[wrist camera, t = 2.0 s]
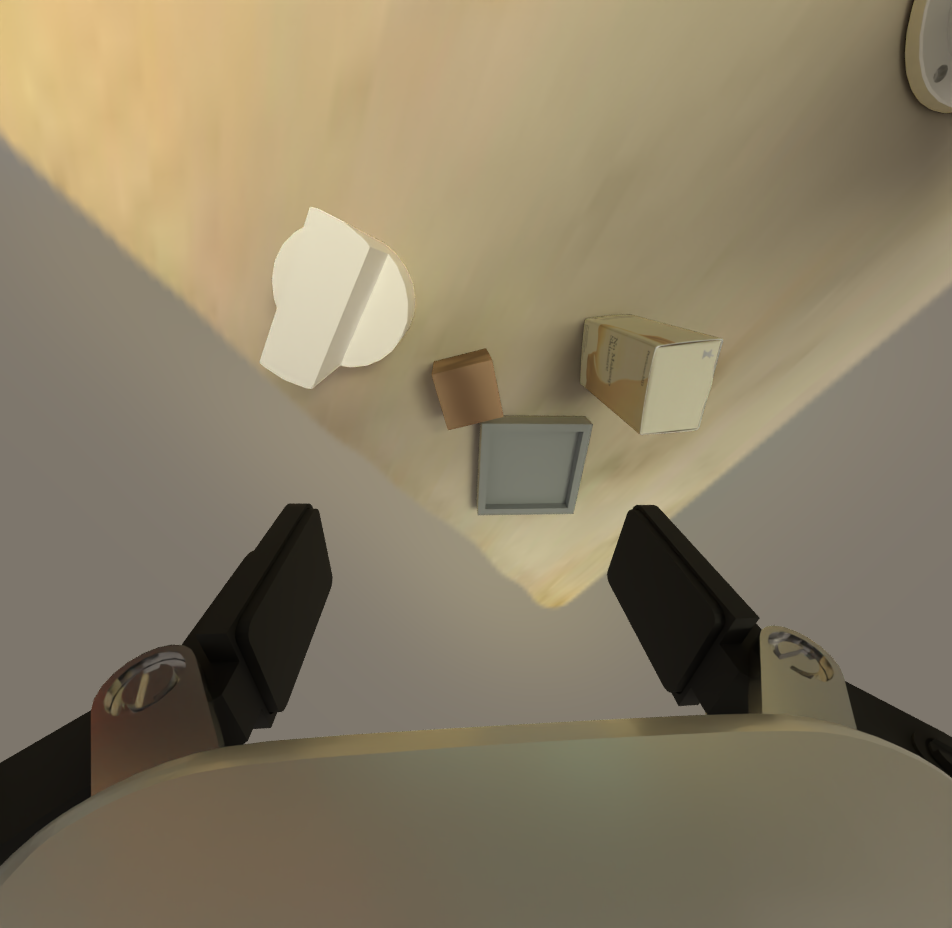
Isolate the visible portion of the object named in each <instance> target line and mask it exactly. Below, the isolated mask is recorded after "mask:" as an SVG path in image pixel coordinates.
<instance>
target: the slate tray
mask: <svg viewBox="0 0 952 928" xmlns="http://www.w3.org/2000/svg"><path fill="white" fill-rule="evenodd" d="M592 426H593V424H592V423H591V422H590V421H589V420H588V419H587V418H586V417H585V416H503V417H501V418H497V419H493V420H488V421H484V422H480V432H479V455H478V477H477V499H476V505H477V513H478V515H525V514H573V513H574V508H575V504H576V499H577V495H578V490H579V486H580V481H581V477H582V472H583V467H584V463H585V458H586V454H587V449H588V445H589V440H590V435H591V431H592Z"/></svg>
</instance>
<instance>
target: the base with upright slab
mask: <svg viewBox="0 0 952 928" xmlns="http://www.w3.org/2000/svg"><path fill="white" fill-rule="evenodd" d="M272 286H273V295H274V301H275V303H276V306H277V310H276V313H275V316H274V319H273V322H272V325H271V328H270V331H269V334H268V337H267V340H266V343H265V346H264V349H263V352H262V356H261V359H260V363H261V364H262V365H263V366H264V367H265V368H266V369H268V370H269V371H271V372H273V373H274V374H276V375H277V376H279V377H280V378H282V379H284V380H285V381H288V382H291V383H293V384H296V385H299V386H301V387H304V388H309V389H313V388H314V387H315V386H316V385H317V384H319V383H320V382H321V381H322V380H323V379H325V378H326V377H327V376H328V375H330V374H331V373H332V372H333V371H334V370H336V369H337V368H338V367H339V366H345V367H359V366H367V365H370V364H372V363H375V362H377V361H379V360H381V359H383V358H384V357H385V356H386V355H388V354H389V353H390V352H391V351H393V349H394V348H395V347H396V345H397V344H398V343H399V342H400V340H401V339H402V338H403V336H404V335H405V333H406V332H407V330H408V329H409V327H410V325H411V322H412V319H413V316H414V313H415V299H416V298H415V292H414V286H413V282H412V280H411V277H410V275H409V272H408V270H407V268H406V266H405V265H404V263H403V262H402V261H401V259H400V258H399V256H398V255H397V254H396V253H395V252H394V251H393V250H392V249H391V248H389V247H388V246H387V245H386V244H385V243H383V242H381V241H380V240H378V239H376V238H374V237H372V236H370V235H368V234H366V233H364V232H363V231H361V230H359V229H357V228H355V227H353V226H351V225H349V224H348V223H346V222H344V221H342V220H340V219H338V218H336V217H334V216H332V215H330V214H328V213H326V212H324V211H322V210H320V209H318V208H314V207H310V208H309V212H308V215H307V218H306V221H305V224H304V227H303V228H301V229H299V230H297V231H295V232H294V233H293V234H292V235H291V236H290V237H289V238H288V239H287V240H286V241H285V242H284V243H283V245H282V247H281V249H280V251H279V253H278V255H277V257H276V259H275V262H274V269H273V275H272Z"/></svg>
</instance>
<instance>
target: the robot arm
mask: <svg viewBox="0 0 952 928" xmlns="http://www.w3.org/2000/svg"><path fill="white" fill-rule="evenodd" d="M905 63H906V74H907V77H908V81H909V84H910V87H911V90H912V92H913V93H914V95H915V96H916V98H917V99H918V100H919V102H920V103H922V104H923V105H924V106H926V107H927V108H929V109H930V110H934V111H937V112H941V113H952V0H914V3H913V6H912V11H911V15H910V20H909V24H908V28H907V35H906V46H905ZM607 576H608V581H609V584H610V586H611V588H612V590H613V592H614V593H615V595H616V597H617V599H618V601H619V603H620V605H621V607H622V608H623V611H624V612H625V614H626V616H627V618H628V620H629V622H630V624H631V625H632V628H633V629H634V631H635V633H636V635H637V637H638V639H639V641H640V642H641V645H642V647H643V648H644V650H645V652H646V654H647V656H648V658H649V660H650V662H651V663H652V666H653V667H654V669H655V671H656V673H657V675H658V677H659V679H660V681H661V683H662V684H663V686H664V688H665V689H666V690H667V691H669V692H671V693H672V695H673V696H674V698H675V700H676V702H677V704H678V706H686V705H698V704H699V703H700V704H701V705H702V707H703V709H704V710H705V712H706V713H705V715H693V716H692V715H689V716H670V717H650V718H630V719H612V720H593V721H592V720H591V721H573V722H555V723H537V724H519V725H504V726H485V727H467V728H450V729H434V730H418V731H402V732H388V733H370V734H354V735H340V736H328V737H315V738H303V739H290V740H279V741H266V742H259V743H252V744H244V743H245V742H247V741H248V739H249V737H250V734H251V732H252V730H253V729H258V728H271V727H272V724H273V721H274V719H275V716H276V714H277V712H282V711H283V710H284V709H285V707H286V705H287V703H288V701H289V698H290V695H291V693H292V690H293V687H294V684H295V682H296V679H297V677H298V674H299V671H300V669H301V666H302V663H303V661H304V658H305V655H306V653H307V650H308V647H309V645H310V642H311V639H312V637H313V634H314V631H315V629H316V626H317V623H318V621H319V618H320V616H321V613H322V610H323V608H324V605H325V602H326V599H327V597H328V594H329V591H330V589H331V586H332V572H331V567H330V562H329V557H328V552H327V548H326V543H325V538H324V533H323V528H322V523H321V518H320V514H319V511H318V509H313V507H312V505H311V504H288V505H286V507H285V508H284V509H283V511H282V512H281V513H280V515H279V516H278V517H277V519H276V520H275V522H274V523H273V525H272V526H271V528H270V529H269V530H268V532H267V533H266V534H265V536H264V537H263V539H262V540H261V541H260V543H259V544H258V546H257V547H256V549H255V550H254V551H252V552H250V553H249V554H248V555H247V556H246V557H245V558H244V560H243V561H242V562H241V564H240V565H239V566H238V568H237V569H236V571H235V572H234V573H233V575H232V576H231V577H230V579H229V580H228V582H227V583H226V584H225V586H224V587H223V589H222V590H221V591H220V593H219V594H218V596H217V597H216V598H215V600H214V601H213V602H212V604H211V605H210V607H209V608H208V609H207V611H206V612H205V613H204V615H203V616H202V618H201V619H200V620H199V622H198V623H197V624H196V626H195V627H194V629H193V630H192V631H191V633H190V634H189V635H188V637H187V638H186V640H185V641H184V642H183V644H182V645H167V646H162V647H158V648H155V649H153V650H150V651H148V652H145V653H143V654H141V655H139V656H138V657H136V658H134V659H132V660H131V661H129V662H127V663H126V664H125V665H124V666H122V667H121V668H120V669H118V670H117V671H116V672H115V673H113V674H112V676H111V677H110V678H109V679H108V680H107V681H106V682H105V683H104V684H103V685H102V686H101V688H100V690H99V691H98V693H97V695H96V696H95V698H94V700H93V704H92V709H91V711H89V712H87V713H85V714H84V715H82V716H80V717H79V718H77V719H75V720H74V721H72V722H70V723H68V724H67V725H65V726H63V727H61V728H60V729H58V730H56V731H55V732H53V733H51V734H50V735H48V736H46V737H44V738H42V739H41V740H39V741H37V742H35V743H34V744H32V745H30V746H29V747H27V748H25V749H23V750H22V751H20V752H19V753H17V754H15V755H13V756H11V757H10V758H8V759H6V760H4V761H3V762H1V763H0V928H952V737H950V736H949V735H947V734H945V733H944V732H942V731H939V730H938V729H936V728H934V727H932V726H930V725H928V724H926V723H924V722H922V721H920V720H919V719H917V718H915V717H913V716H911V715H909V714H907V713H905V712H903V711H901V710H899V709H898V708H895V707H894V706H892V705H890V704H888V703H886V702H884V701H882V700H880V699H878V698H876V697H875V696H873V695H871V694H869V693H867V692H865V691H863V690H861V689H859V688H857V687H855V686H853V685H851V684H849V683H848V682H846V681H845V680H844V677H843V674H842V672H841V669H840V667H839V665H838V664H837V663H836V662H835V660H834V659H833V658H832V657H831V656H830V655H829V654H828V653H827V652H826V651H825V650H824V649H823V648H822V647H821V646H819V645H818V644H816V643H815V642H813V641H812V640H811V639H809V638H808V637H806V636H804V635H802V634H800V633H798V632H796V631H793V630H790V629H788V628H785V627H780V626H767V627H765V628H764V629H762V630H761V628H760V627H759V626H758V625H757V624H756V622H757V621H758V619H759V617H758V616H757V615H756V614H755V612H754V611H753V610H752V609H751V608H750V607H749V606H748V605H747V604H746V603H745V601H744V600H743V599H742V598H741V597H740V596H739V595H738V594H737V593H736V592H735V591H734V589H733V588H732V587H731V586H730V585H729V584H728V583H727V582H726V581H725V580H724V579H723V577H722V576H721V575H720V574H719V573H718V572H717V571H716V570H715V569H714V568H713V566H712V565H711V564H710V563H709V562H708V561H707V560H706V559H705V558H704V557H703V556H702V554H700V552H699V551H698V550H697V549H696V548H695V547H694V546H693V545H692V544H691V542H690V541H689V540H688V539H687V538H686V537H685V536H684V535H683V534H682V533H681V531H680V530H679V529H678V528H677V527H676V526H675V525H674V524H673V523H672V522H671V521H670V519H669V518H668V517H667V516H666V515H665V514H664V513H663V512H662V511H661V510H660V509H659V508H658V507H657V506H655V505H636V506H635V507H633V509H632V510H629V511H628V513H627V516H626V519H625V522H624V525H623V528H622V531H621V534H620V537H619V539H618V542H617V545H616V548H615V551H614V554H613V557H612V560H611V563H610V566H609V569H608V573H607ZM243 744H244V745H243Z"/></svg>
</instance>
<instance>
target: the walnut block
mask: <svg viewBox="0 0 952 928" xmlns="http://www.w3.org/2000/svg"><path fill="white" fill-rule="evenodd" d="M432 378H433V381H434V385H435V388H436V391H437V395H438V398H439V401H440V405H441V408H442V412H443V415H444V418H445V422H446V425H447V429H448V430H451V429H455V428H459V427H464V426H468V425H472V424H476V423H480V422H484V421H488V420H493V419H497V418H501V417H503V412H502V407H501V402H500V397H499V392H498V387H497V382H496V377H495V372H494V367H493V362H492V359H491V357H490V355H489V353H488V351H487V349H482V350H478V351H474V352H470V353H466V354H462V355H458V356H454V357H450V358H446V359H442V360H438V361H434V364H433V370H432Z"/></svg>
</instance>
